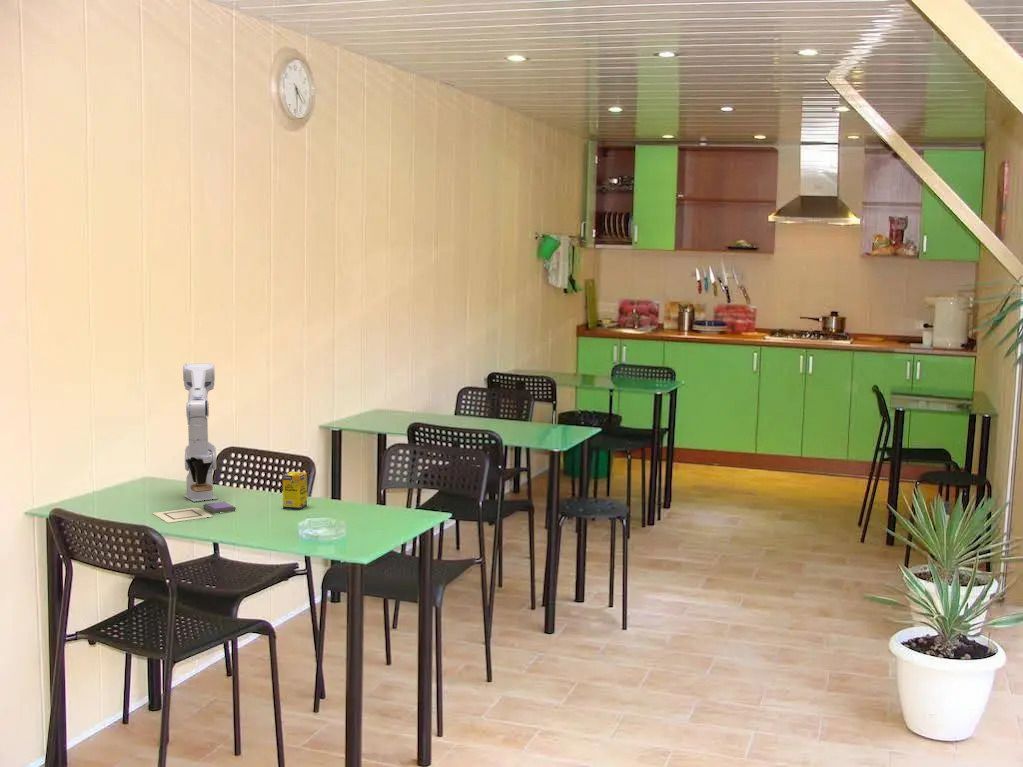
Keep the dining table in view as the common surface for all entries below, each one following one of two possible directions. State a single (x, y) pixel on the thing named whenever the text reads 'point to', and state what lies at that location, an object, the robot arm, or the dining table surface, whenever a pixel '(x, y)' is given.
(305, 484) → the supplement box
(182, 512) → the paper sheet
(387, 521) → the dining table surface
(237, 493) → the dining table surface
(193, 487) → the stamp
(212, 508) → the ink pad
